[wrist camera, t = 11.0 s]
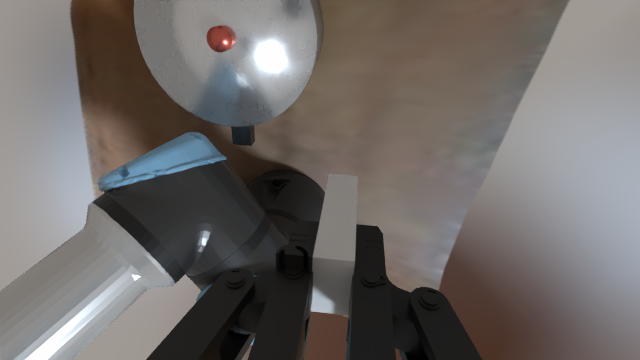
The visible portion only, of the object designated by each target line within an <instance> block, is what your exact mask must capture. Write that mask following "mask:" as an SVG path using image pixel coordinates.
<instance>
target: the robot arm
mask: <svg viewBox="0 0 640 360" xmlns="http://www.w3.org/2000/svg"><path fill="white" fill-rule="evenodd" d="M226 159H227V158H226V157H225V156H224V155H222V154H221V153H220V152H219V151H218V150H217V149H216V148H215V146H214V145H213V144H212V143H211V142H210V141H209V139H208V138H207V137H206V136H204V135H203V134H201V133H198V132H188V133H185V134H183V135H181V136H179V137H177V138H175V139H173V140H171V141H169V142H167V143H165V144H163V145H161V146H159V147H157V148H155V149H153V150H151V151H149V152H147V153H145V154H144V155H142V156H140V157H138V158H136V159H134V160H132V161H130V162H129V163H127V164H125V165H123V166H121V167H119V168H117V169H116V170H113V171H111V172H109V173H108V174H106V175H104V176H102V177H101V178H99V179H98V185H99V190H101V191H102V192H103V191H104V192H105V193H104V194H103V195H101V196H100V197H99V198H97V199H96V200H94V201H93V202H92V203H90V204H89V205H88V212H87V220H86V224H85V226H84V228H83V229H82V230H81V231H80V232H78V233H77V234H76V235H74V236H73V237H72V238H70V239H69V240H68V241H66V242H65V243H64V244H62V245H61V246H60V247H58V248H57V249H56V250H54V251H53V252H52V253H50V254H49V255H48V256H46V257H45V258H44V259H42V260H41V261H40V262H38V263H37V264H36V265H34V266H33V267H32V268H30V269H29V270H28V271H26V272H25V273H24V274H22V275H21V276H20V277H18V278H17V279H16V280H14V281H13V282H12V283H10V284H9V285H8V286H6V287H5V288H4V289H2V290H1V291H0V360H73V359H74V358H75V357H76V356H77V355H78V354H79V353H80V352H82V350H84V349H85V348H86V347H87V346H88V345H89V344H90V343H91V342H92V341H93V340H94V339H95V338H96V337H97V336H99V335H100V334H101V333H102V332H103V331H104V330H105V329H106V328H107V327H108V326H109V325H110V324H111V323H112V322H114V320H116V319H117V318H118V317H119V316H120V315H121V314H122V313H123V312H124V311H125V310H126V309H127V308H128V307H129V306H130V305H132V304H133V303H134V302H135V301H136V300H137V299H138V298H139V297H140V296H141V295H142V294H143V293H144V292H145V291H147V290H148V289H150V288H153V287H168V286H173V285H174V284H175V283H176V282H177V281H179V280H180V279H181V278H182V277H183V276H184V275H185V274H186V275H187V276H188V277H189V278H190V279H191V280H192V281H193V282H194V283H195V284H196V285H197V286H198V288H199V289H200V290H201V292H200V294H199V295H198V297H197V302H196V304H195V305H194V306H193V307H192V308H191V309H190V310H189V312H188V313H187V314H186V315H185V316H184V317H183V319H182V320H181V321H180V322H179V323H178V324H177V325H176V326H175V328H174V329H173V330H172V331H171V332H170V333H169V335H167V337H166V338H165V339H164V340H163V341H162V342H161V344H160V345H159V346H158V347H157V348H156V349H155V350H154V351H153V353H152V354H151V355H150V356H149V357H148V358H147V359H146V360H241V359H242V358H243V356H244V354H245V353H246V351H247V350H248V348H249V346H250V345H252V348H251V351H250V354H249V358H248V360H304V355H305V349H306V342H307V336H308V330H309V324H310V311H315V312H322V313H331V314H340V315H348V316H349V319H348V329H347V338H346V341H347V348H346V360H396V355H395V348H397V349H399V352H400V355H401V358H402V360H482V358H481V357H480V355H479V353H478V351H477V350H476V348H475V346H474V344H473V343H472V341H471V339H470V338H469V336H468V334H467V332H466V331H465V329H464V327H463V325H462V324H461V322H460V320H459V318H458V317H457V315H456V313H455V311H454V310H453V308H452V306H451V305H450V303H449V301H448V300H447V298H446V297H445V296H444V295H443V294H442V293H440V292H439V291H437V290H435V289H432V288H428V287H420V288H416V289H415V290H414V291H412V292H411V293H410V292H408V291H405V290H402V289H400V288H398V287H396V286H395V285H393V284H392V283H391V282H390V281H389V279H388V277H387V275H386V268H385V256H384V243H383V233H382V232H381V231H380V229H379V228H378V226H368V225H357V224H356V217H357V188H358V176H350V175H338V174H329V177H328V182H327V187H326V192H325V193H324V191H323V190H322V189H321V187H320V186H319V185H318V184H317V183H315V182H314V181H313V180H311V179H310V178H308V177H306V176H304V175H302V174H299V173H296V172H292V171H282V170H281V171H272V172H268V173H265V174H263V175H261V176H259V177H257V178H256V179H254V180H253V181H252V182H251V183H250V184H249V186H248V187H247V186H246V185H245V184H244V182H243V181H242V180H241V178H240V177H239V176H238V174H237V173H236V172H235V170H234V169H233V168H232V167H231V165H230V164H229V163H228V161H227V160H226Z"/></svg>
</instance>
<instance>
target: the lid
mask: <svg viewBox="0 0 640 360" xmlns="http://www.w3.org/2000/svg"><path fill="white" fill-rule="evenodd" d="M134 24H135V30H136V36H137V40H138V43H139V47H140V50H141V53H142V55H143V57H144V60H145V62H146V64H147V66H148V68H149V70H150V71H151V73H152V75H153V76H154V78H155V79H156V81H157V82H158V84H159V85H160V86H161V87H162V88H163V90H164V91H165V92H166V93H167V94H168V95H169V96H170V97H171V98H172V99H173V100H174V101H175V102H176V103H178V104H179V105H180V106H181V107H183V108H184V109H185V110H187V111H189V112H190V113H192V114H193V115H195V116H197V117H199V118H202V119H204V120H206V121H209V122H212V123H215V124H219V125H224V126H233V127H243V126H251V125H257V124H260V123H263V122H266V121H268V120H270V119H272V118H275V117H276V116H278V115H279V114H281V113H282V112H284V111H285V110H286V109H287V108H288V107H290V106H291V105H292V104H293V103H294V101H295V100H296V99H297V98H298V97H299V95H300V94H301V92H302V91H303V89H304V88H305V86H306V84H307V83H308V80H309V78H310V76H311V74H312V71H313V68H314V65H315V61H316V56H317V50H318V27H317V19H316V14H315V9H314V6H313V3H312V0H134Z"/></svg>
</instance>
